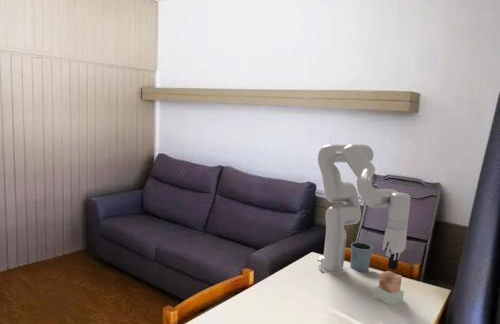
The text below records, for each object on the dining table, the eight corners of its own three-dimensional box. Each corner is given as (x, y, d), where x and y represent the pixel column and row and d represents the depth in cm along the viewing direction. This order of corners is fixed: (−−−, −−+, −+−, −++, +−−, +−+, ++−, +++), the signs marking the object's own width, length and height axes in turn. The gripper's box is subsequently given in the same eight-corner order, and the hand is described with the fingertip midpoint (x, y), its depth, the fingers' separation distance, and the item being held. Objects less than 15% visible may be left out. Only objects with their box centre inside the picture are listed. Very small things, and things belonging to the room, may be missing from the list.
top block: (378, 287, 164) (380, 273, 163) (386, 284, 168) (388, 270, 167) (392, 293, 159) (393, 278, 159) (400, 290, 163) (401, 275, 163)
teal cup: (365, 265, 202) (368, 242, 201) (373, 274, 192) (376, 249, 191) (345, 265, 202) (348, 241, 200) (352, 273, 192) (355, 248, 190)
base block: (374, 296, 165) (375, 287, 164) (384, 292, 170) (386, 283, 169) (391, 304, 159) (393, 295, 158) (402, 299, 164) (403, 290, 163)
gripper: (398, 219, 168) (394, 262, 170) (378, 224, 158) (373, 269, 160) (415, 224, 162) (410, 268, 164) (395, 228, 153) (390, 275, 155)
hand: (392, 268), depth 162 cm, fingers closed
